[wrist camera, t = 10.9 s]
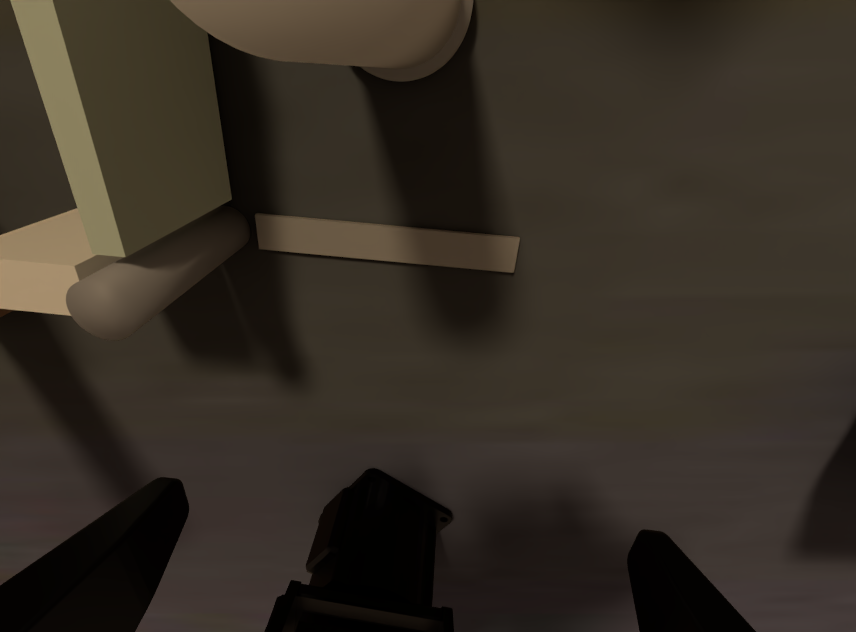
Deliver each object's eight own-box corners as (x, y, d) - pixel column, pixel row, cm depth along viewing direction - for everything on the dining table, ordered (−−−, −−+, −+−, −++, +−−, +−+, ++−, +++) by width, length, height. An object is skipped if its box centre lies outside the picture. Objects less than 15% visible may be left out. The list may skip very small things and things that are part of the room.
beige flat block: (231, 199, 19) (125, 257, 13) (177, 194, 19) (46, 250, 13) (179, -159, 13) (-46, -344, 7) (102, -164, 13) (-180, -351, 8)
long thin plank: (120, 238, 20) (-59, 323, 13) (107, 195, 19) (-92, 263, 12) (512, 274, 20) (539, 383, 13) (520, 232, 19) (554, 325, 12)
